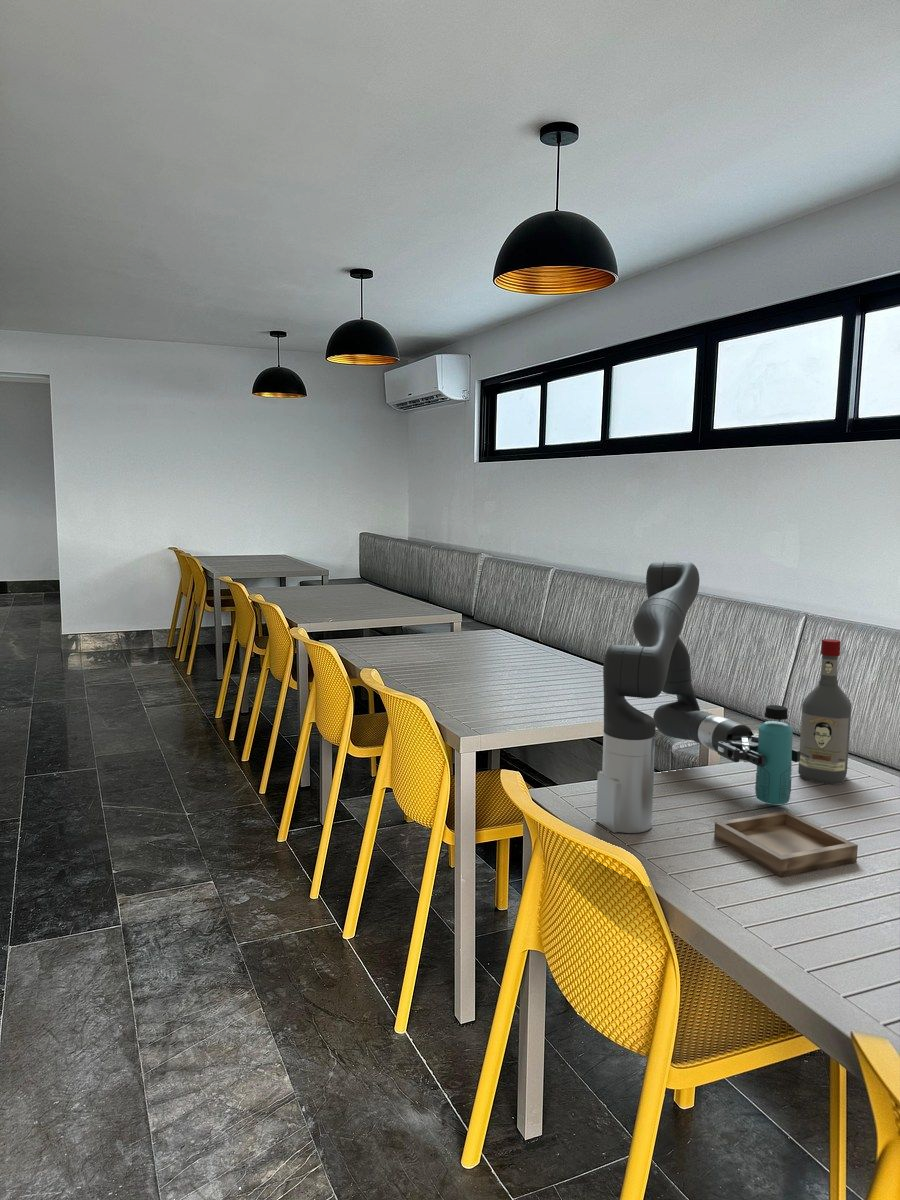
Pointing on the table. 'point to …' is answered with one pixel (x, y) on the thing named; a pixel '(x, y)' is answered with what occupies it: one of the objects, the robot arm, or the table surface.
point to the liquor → (825, 724)
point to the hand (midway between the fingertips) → (781, 759)
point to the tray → (785, 843)
